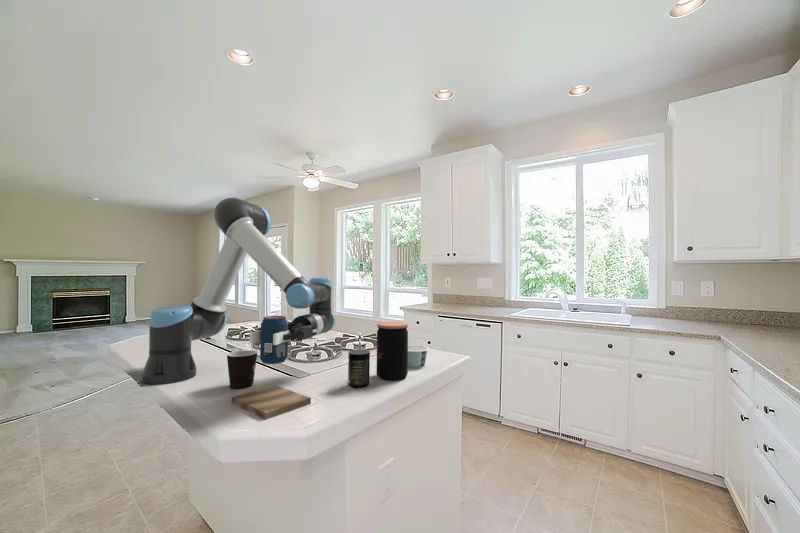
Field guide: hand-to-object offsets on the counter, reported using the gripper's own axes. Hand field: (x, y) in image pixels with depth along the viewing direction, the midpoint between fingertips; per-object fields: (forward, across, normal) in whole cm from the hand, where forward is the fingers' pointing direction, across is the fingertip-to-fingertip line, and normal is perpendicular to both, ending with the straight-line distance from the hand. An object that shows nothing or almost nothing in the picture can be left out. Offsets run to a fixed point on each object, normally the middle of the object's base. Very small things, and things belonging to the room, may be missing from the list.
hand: (262, 338), depth 87 cm
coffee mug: (-16, +17, -18) cm, 30 cm away
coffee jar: (-36, -25, -18) cm, 48 cm away
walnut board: (-5, 0, -18) cm, 18 cm away
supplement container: (-24, -17, -18) cm, 35 cm away
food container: (-54, -29, -18) cm, 64 cm away
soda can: (-5, 0, -7) cm, 9 cm away
